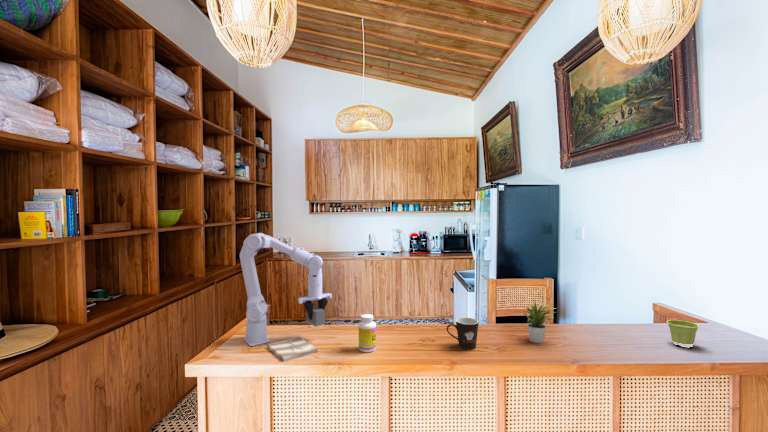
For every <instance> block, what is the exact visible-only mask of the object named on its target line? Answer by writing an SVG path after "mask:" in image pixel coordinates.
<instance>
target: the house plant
mask: <svg viewBox="0 0 768 432" xmlns="http://www.w3.org/2000/svg"><path fill="white" fill-rule="evenodd" d="M544 304H545V302H542V303H541V305H540V306H539V308H538V306H537V303H536V300H535V299H534V301H531V304H529V306H530V307H531V308H530V307H528V306H527V305H526V304H524V306H525V309H526V310H527V313H528V314H529V315H528V314H526V313H523V312H522V313H521V315H522V316H525V317H526V318H527V322H526V323H527V324H526V326H527V330H528V337H529V341H530V342H531V343H535V344H543V343H544V341H545V337H546V336H545V335H546V331H547V326H546V325H545V324H543V323H544V322H546V323H548V324H550V321H549V320H552V321H553V320H554V319H553V318H552V316H548V314H554V313H555V314H556V313H558V312H557V311H554V309H557V307H555V308H554V307H553V308H548V309H547V307H549V305H550V303H549V304H546V305H544Z"/></svg>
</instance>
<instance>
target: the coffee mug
mask: <svg viewBox="0 0 768 432" xmlns="http://www.w3.org/2000/svg"><path fill="white" fill-rule="evenodd" d="M455 323H456V324H454V323H450V324H448V325H447V326H446V331H447V333H448V335H450V336H451V337H453V338H454V339H456V340H457V342H458V347H459V348H460V349H461V350H466V351H470V350H475V349H476V347H477V340H478V331H479V323H480V321H479V320H478V319H476V318H472V317H459V318H456V319H455ZM451 326H453V327H455V329H456V334H457V336H455V335H453V334H452V333H451V332H450V331H449V327H451Z"/></svg>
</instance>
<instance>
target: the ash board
mask: <svg viewBox="0 0 768 432" xmlns="http://www.w3.org/2000/svg"><path fill="white" fill-rule="evenodd" d="M267 348H268V349H269V350H270V352H272V353H274V354H275V356H277V357H278V358H279V359H280V360H282V361H283V362H287V361H290V360H294V359H298V358H301V357H304V356H307V355H311V354H315V353H318V348H317V347H315V346H314V345H312V343H309V342H308V341H306V340H304V339H303V338H302V337H300V336H297V337H292V338H289V339H285V340H281V341H277V342H272V343H269V344H267Z"/></svg>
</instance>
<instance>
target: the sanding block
mask: <svg viewBox="0 0 768 432" xmlns="http://www.w3.org/2000/svg"><path fill="white" fill-rule="evenodd" d="M305 311H306V310H305ZM305 313H306V315H305V317H306V318H305V319H306V320H305V321H306V323H308V324H310V325H312V326H313V327H315V328H318V327H323V326H324V327H325V326H326V310H325V309H324V310H323V309H321V308H319V307H318V305H313V311H312V315H313V317H312V320H310V319H309V318H308V314H307V311H306V312H305Z"/></svg>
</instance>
